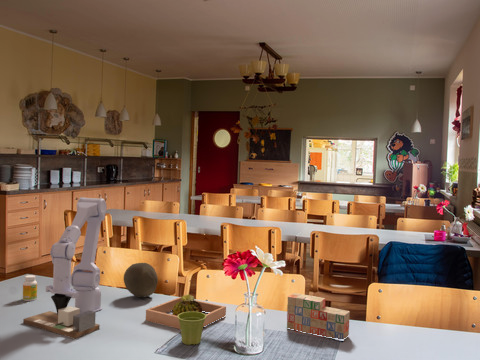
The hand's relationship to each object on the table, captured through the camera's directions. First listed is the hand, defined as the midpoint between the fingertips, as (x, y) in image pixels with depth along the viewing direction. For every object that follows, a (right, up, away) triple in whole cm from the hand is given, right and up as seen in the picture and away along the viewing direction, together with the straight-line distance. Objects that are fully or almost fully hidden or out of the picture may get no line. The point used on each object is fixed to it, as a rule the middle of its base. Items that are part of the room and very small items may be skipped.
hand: (61, 315), depth 165 cm
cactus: (+43, -6, +11) cm, 45 cm away
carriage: (+3, -2, -3) cm, 5 cm away
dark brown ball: (+20, -4, +38) cm, 43 cm away
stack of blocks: (+90, -7, +2) cm, 91 cm away
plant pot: (+47, -6, -10) cm, 48 cm away
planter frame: (+43, -5, +13) cm, 45 cm away
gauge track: (0, -4, 0) cm, 4 cm away
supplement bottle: (-25, -2, +30) cm, 39 cm away
